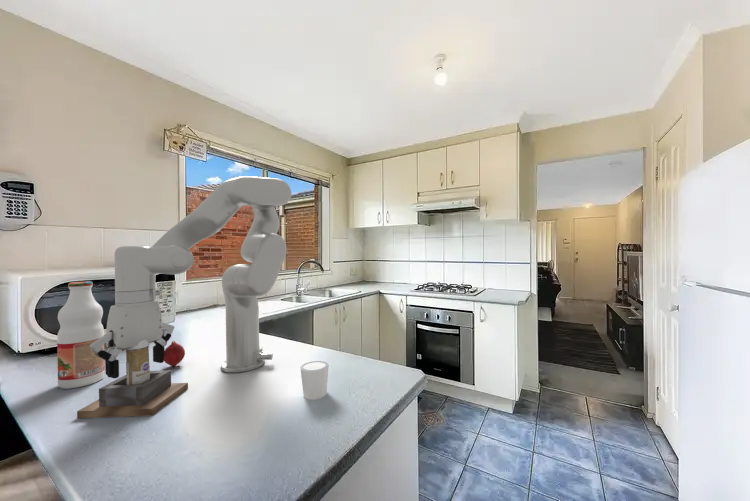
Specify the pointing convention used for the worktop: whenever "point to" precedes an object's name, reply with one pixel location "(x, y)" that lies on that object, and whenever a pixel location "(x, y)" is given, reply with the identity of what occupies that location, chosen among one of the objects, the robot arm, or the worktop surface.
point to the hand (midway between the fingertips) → (137, 369)
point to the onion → (174, 354)
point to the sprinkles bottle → (138, 364)
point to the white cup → (314, 379)
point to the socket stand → (134, 397)
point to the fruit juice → (79, 338)
